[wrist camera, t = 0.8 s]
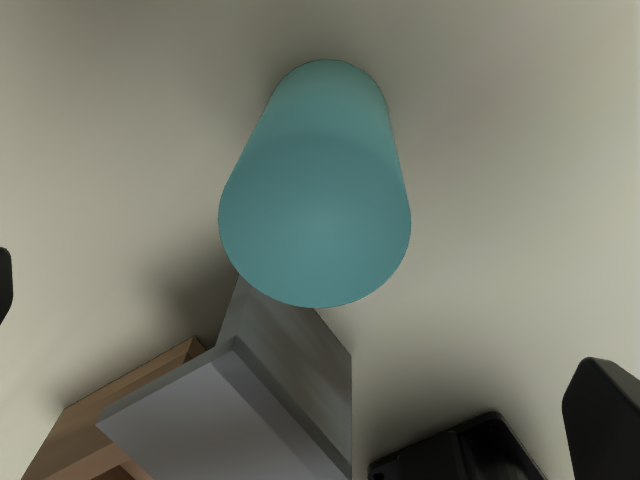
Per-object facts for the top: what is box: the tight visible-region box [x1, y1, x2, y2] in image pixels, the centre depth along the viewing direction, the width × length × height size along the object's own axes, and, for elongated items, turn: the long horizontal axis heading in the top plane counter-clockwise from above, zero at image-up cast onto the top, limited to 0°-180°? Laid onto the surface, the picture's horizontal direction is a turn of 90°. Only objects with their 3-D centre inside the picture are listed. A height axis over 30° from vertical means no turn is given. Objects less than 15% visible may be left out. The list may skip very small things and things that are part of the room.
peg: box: [218, 60, 411, 308], centre depth 16 cm, size 4×4×8 cm
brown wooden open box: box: [21, 274, 352, 480], centre depth 22 cm, size 9×12×6 cm
